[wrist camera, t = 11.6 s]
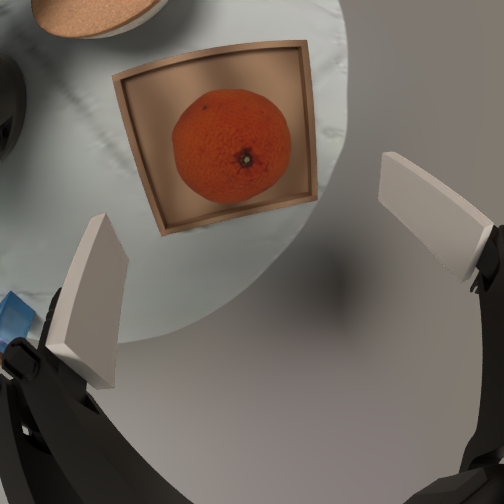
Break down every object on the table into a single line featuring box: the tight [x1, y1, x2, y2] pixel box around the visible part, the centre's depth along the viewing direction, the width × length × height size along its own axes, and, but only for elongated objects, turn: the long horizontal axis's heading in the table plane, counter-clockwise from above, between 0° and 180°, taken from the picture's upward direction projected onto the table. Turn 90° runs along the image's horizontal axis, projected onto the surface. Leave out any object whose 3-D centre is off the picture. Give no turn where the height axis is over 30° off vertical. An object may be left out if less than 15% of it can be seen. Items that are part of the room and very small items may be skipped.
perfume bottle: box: [0, 291, 35, 365], centre depth 30 cm, size 6×6×12 cm
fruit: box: [171, 89, 291, 204], centre depth 19 cm, size 9×9×8 cm
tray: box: [112, 40, 317, 236], centre depth 24 cm, size 16×16×7 cm
